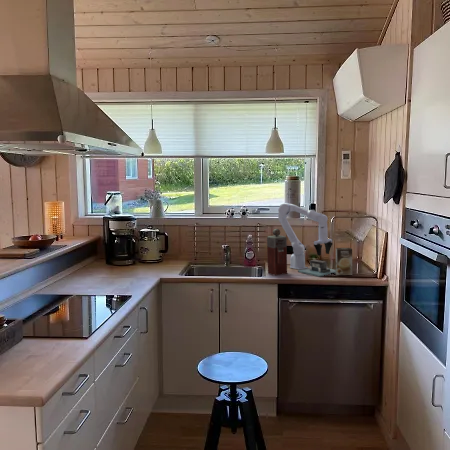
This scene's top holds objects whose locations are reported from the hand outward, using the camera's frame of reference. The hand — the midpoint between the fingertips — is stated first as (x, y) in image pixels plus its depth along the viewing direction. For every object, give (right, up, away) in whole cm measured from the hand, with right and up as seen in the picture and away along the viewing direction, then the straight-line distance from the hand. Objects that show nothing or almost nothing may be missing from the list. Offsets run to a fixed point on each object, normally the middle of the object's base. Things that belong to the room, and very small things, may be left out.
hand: (323, 254), depth 288 cm
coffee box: (+9, -11, -17) cm, 22 cm away
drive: (-5, -10, -8) cm, 13 cm away
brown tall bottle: (-30, -12, -8) cm, 33 cm away
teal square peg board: (-5, -11, -8) cm, 14 cm away
